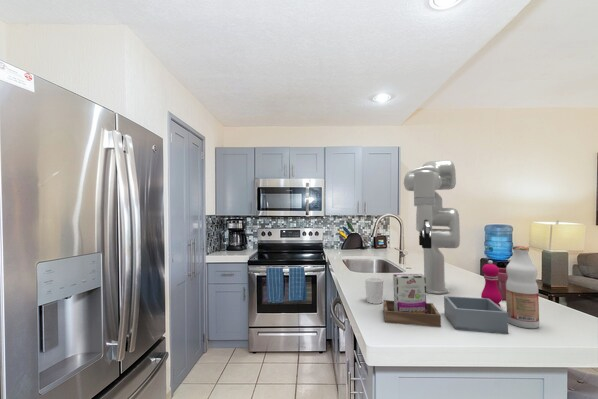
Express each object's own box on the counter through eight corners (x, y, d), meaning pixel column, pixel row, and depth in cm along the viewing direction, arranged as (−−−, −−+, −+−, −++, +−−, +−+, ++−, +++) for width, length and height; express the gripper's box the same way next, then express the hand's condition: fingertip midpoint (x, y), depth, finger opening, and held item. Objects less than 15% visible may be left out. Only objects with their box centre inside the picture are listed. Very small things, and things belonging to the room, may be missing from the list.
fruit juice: (500, 320, 110) (498, 245, 111) (520, 318, 112) (518, 244, 113) (525, 330, 101) (522, 248, 102) (546, 327, 103) (543, 247, 104)
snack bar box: (421, 315, 115) (420, 273, 116) (427, 320, 110) (426, 276, 111) (393, 315, 115) (392, 273, 116) (397, 320, 110) (397, 276, 111)
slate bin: (444, 313, 117) (444, 295, 117) (489, 316, 113) (489, 298, 114) (455, 329, 102) (455, 309, 102) (508, 333, 98) (507, 312, 98)
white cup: (384, 300, 135) (383, 278, 135) (383, 305, 127) (382, 282, 128) (366, 298, 137) (366, 277, 138) (364, 303, 130) (364, 280, 130)
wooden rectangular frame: (383, 309, 122) (383, 300, 122) (432, 313, 117) (432, 303, 117) (385, 322, 108) (385, 311, 108) (441, 327, 104) (440, 315, 104)
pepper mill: (505, 311, 120) (503, 262, 120) (485, 310, 121) (484, 261, 122) (497, 305, 127) (495, 259, 127) (478, 304, 128) (477, 258, 129)
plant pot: (481, 295, 141) (480, 269, 142) (499, 292, 147) (498, 266, 147) (513, 304, 128) (512, 275, 129) (531, 300, 134) (531, 272, 134)
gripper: (412, 203, 123) (412, 244, 122) (416, 201, 107) (416, 249, 106) (431, 203, 121) (432, 244, 120) (438, 201, 104) (439, 249, 104)
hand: (425, 246), depth 113 cm, fingers open, 9 cm apart
